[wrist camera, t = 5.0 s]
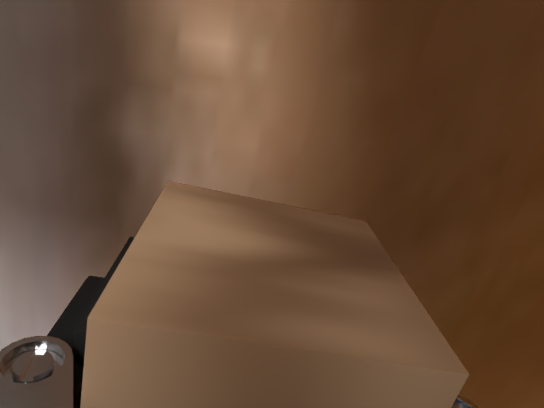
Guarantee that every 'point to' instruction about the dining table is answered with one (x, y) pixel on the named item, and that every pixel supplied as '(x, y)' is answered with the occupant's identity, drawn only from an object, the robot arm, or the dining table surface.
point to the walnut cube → (261, 314)
